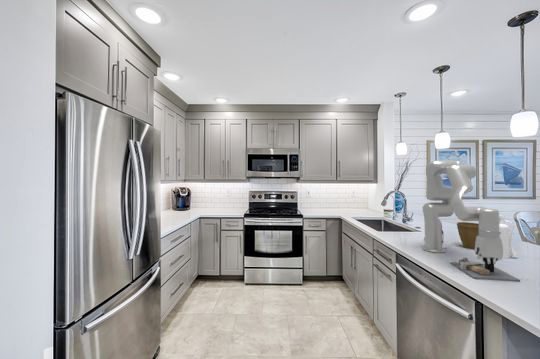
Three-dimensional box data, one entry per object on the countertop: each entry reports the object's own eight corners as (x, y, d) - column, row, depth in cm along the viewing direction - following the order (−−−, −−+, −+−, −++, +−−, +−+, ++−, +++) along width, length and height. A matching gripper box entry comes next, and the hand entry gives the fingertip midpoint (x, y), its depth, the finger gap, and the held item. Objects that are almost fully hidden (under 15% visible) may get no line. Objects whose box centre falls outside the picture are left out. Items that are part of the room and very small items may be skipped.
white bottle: (521, 260, 134) (518, 216, 135) (492, 257, 140) (489, 215, 141) (516, 257, 140) (513, 215, 140) (489, 254, 146) (486, 214, 147)
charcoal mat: (450, 263, 131) (450, 262, 131) (489, 265, 127) (489, 264, 127) (473, 278, 112) (473, 277, 112) (520, 281, 108) (520, 280, 108)
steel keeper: (460, 269, 123) (460, 261, 123) (479, 270, 121) (479, 262, 121) (463, 271, 120) (463, 263, 120) (482, 272, 118) (482, 264, 118)
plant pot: (456, 248, 159) (456, 224, 159) (457, 243, 170) (457, 221, 170) (486, 252, 149) (486, 227, 149) (485, 246, 160) (485, 223, 160)
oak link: (458, 263, 128) (458, 257, 128) (466, 263, 128) (466, 257, 128) (480, 274, 114) (480, 267, 114) (489, 274, 113) (489, 267, 113)
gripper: (498, 232, 118) (498, 268, 118) (466, 232, 119) (467, 268, 119) (512, 235, 111) (513, 274, 111) (478, 235, 112) (479, 274, 112)
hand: (489, 271), depth 115 cm, fingers closed
